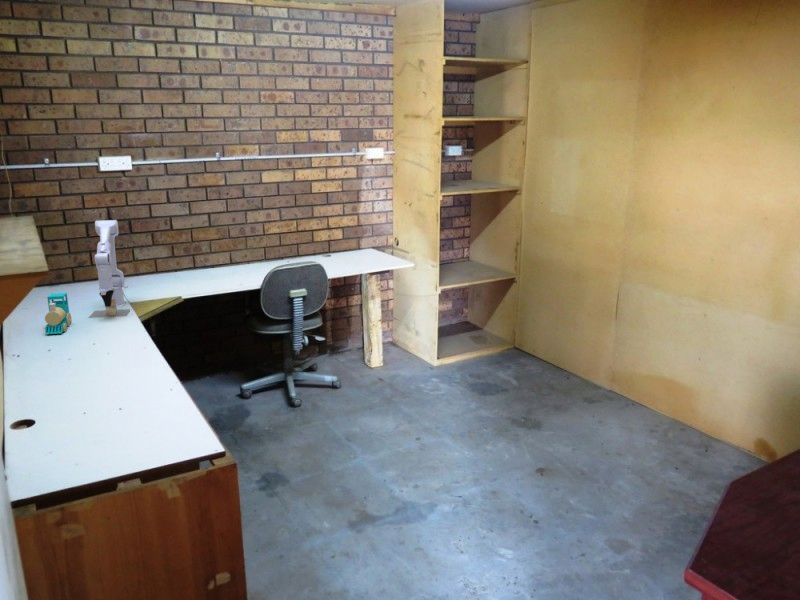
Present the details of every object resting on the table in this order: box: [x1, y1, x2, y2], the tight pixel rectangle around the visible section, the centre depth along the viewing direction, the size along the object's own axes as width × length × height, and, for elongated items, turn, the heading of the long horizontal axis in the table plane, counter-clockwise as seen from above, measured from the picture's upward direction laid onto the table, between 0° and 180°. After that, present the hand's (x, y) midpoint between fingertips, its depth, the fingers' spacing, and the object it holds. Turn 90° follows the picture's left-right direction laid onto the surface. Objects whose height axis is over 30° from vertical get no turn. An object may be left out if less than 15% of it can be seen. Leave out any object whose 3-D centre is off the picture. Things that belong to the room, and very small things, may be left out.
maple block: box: [104, 298, 118, 316], centre depth 297 cm, size 4×4×8 cm
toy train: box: [44, 292, 73, 335], centre depth 273 cm, size 8×17×15 cm, turn 15°
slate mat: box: [87, 308, 131, 319], centre depth 300 cm, size 13×17×1 cm
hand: (108, 306), depth 292 cm, fingers closed
